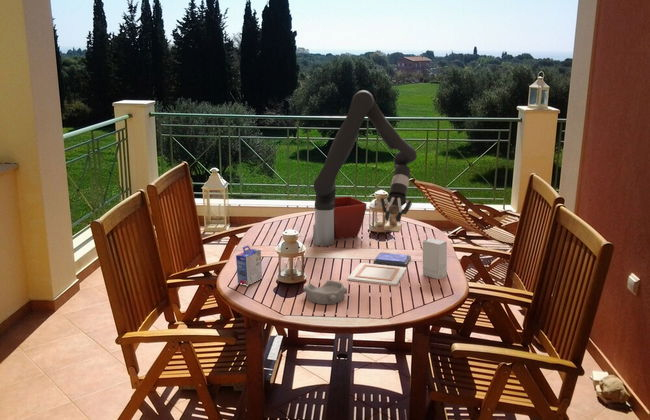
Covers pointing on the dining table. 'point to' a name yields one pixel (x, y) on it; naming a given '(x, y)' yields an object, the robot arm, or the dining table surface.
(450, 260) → the dining table surface
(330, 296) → the dish
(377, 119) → the robot arm
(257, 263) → the ink cartridge box
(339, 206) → the plant pot
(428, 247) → the skincare box
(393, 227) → the rubber stamp
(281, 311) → the dining table surface
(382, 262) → the ink pad
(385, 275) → the marked board
